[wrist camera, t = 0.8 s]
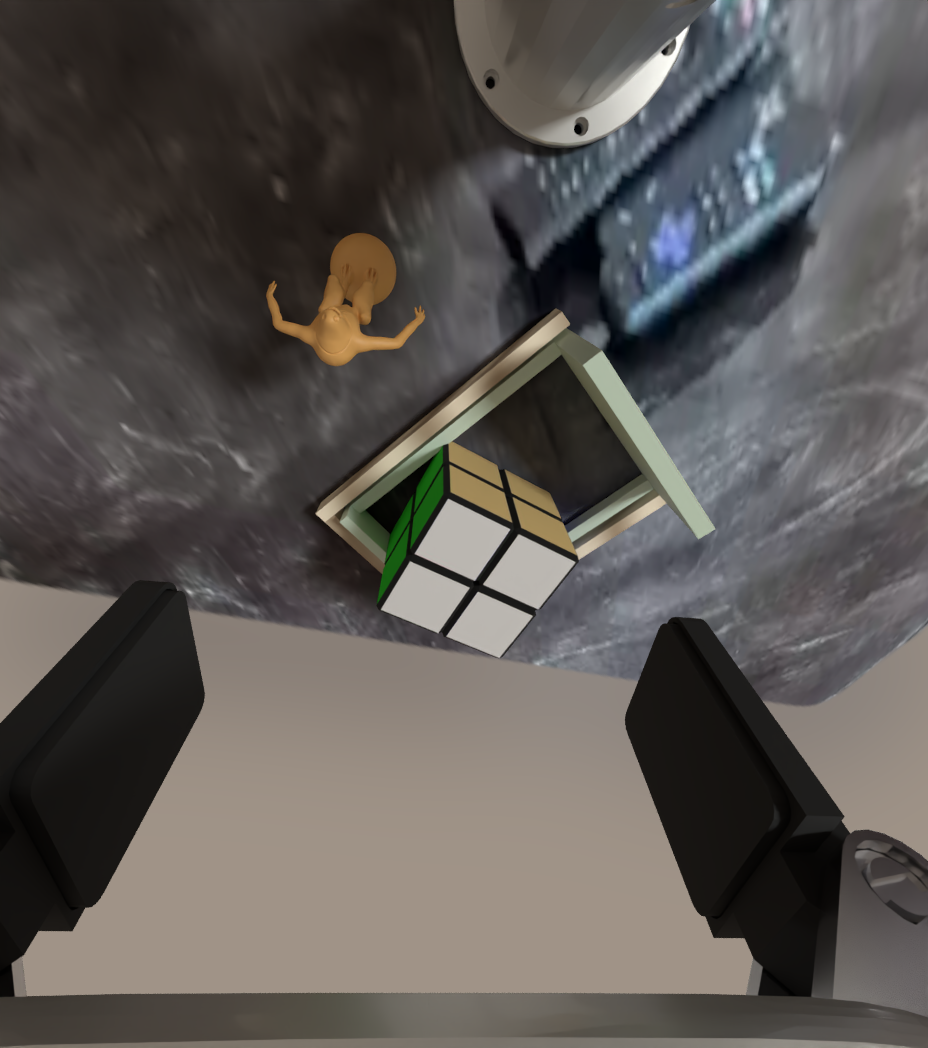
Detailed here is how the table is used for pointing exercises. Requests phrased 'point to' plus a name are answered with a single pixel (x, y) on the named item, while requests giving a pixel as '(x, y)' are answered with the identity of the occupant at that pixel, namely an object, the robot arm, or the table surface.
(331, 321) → the figurine
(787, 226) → the table surface
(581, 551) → the frame
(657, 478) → the green frame
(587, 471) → the table surface
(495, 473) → the puzzle cube
